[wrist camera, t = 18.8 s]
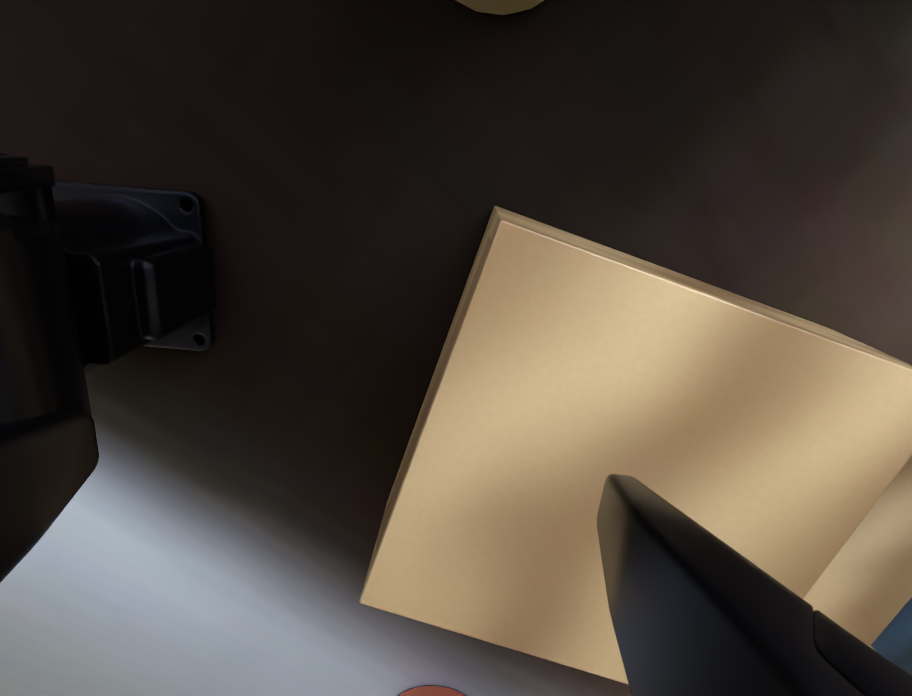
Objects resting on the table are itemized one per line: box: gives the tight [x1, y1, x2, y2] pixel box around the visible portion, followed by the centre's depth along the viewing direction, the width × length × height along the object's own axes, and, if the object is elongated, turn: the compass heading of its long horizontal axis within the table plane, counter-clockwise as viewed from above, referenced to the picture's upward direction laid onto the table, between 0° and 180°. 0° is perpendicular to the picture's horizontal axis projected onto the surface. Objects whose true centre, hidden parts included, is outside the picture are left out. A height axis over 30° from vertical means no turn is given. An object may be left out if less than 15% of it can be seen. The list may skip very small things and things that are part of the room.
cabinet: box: [360, 206, 912, 684], centre depth 20 cm, size 15×15×6 cm
